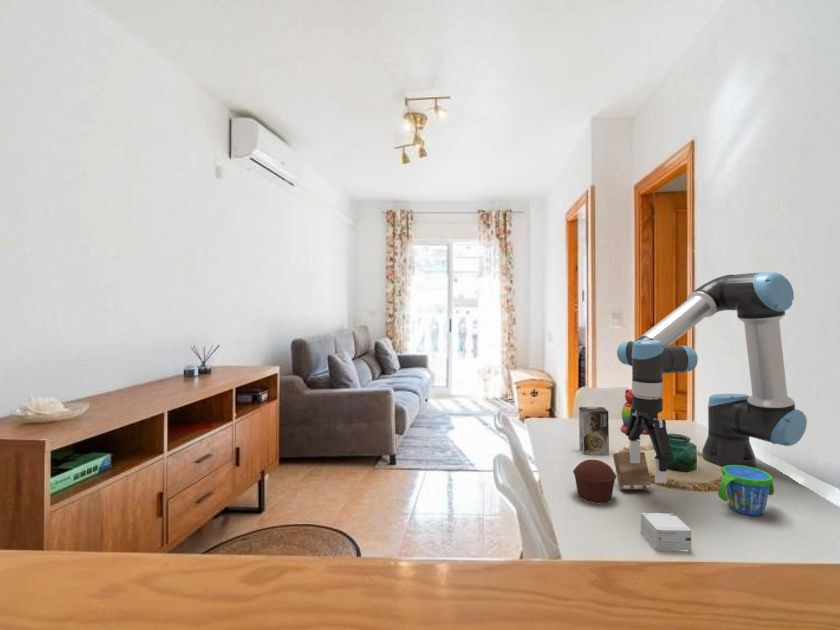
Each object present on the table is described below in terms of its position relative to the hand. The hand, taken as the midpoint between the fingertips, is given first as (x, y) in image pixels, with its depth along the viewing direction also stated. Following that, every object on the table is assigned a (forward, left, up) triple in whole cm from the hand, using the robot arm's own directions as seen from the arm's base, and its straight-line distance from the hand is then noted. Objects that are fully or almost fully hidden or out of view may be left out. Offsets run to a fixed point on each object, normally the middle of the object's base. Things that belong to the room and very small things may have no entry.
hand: (647, 472), depth 119 cm
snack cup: (-23, -7, -8) cm, 25 cm away
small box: (-5, +21, -8) cm, 23 cm away
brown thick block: (+3, -5, -7) cm, 9 cm away
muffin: (+13, +4, -8) cm, 16 cm away
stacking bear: (+8, -71, -8) cm, 72 cm away
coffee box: (+19, -35, -8) cm, 41 cm away
